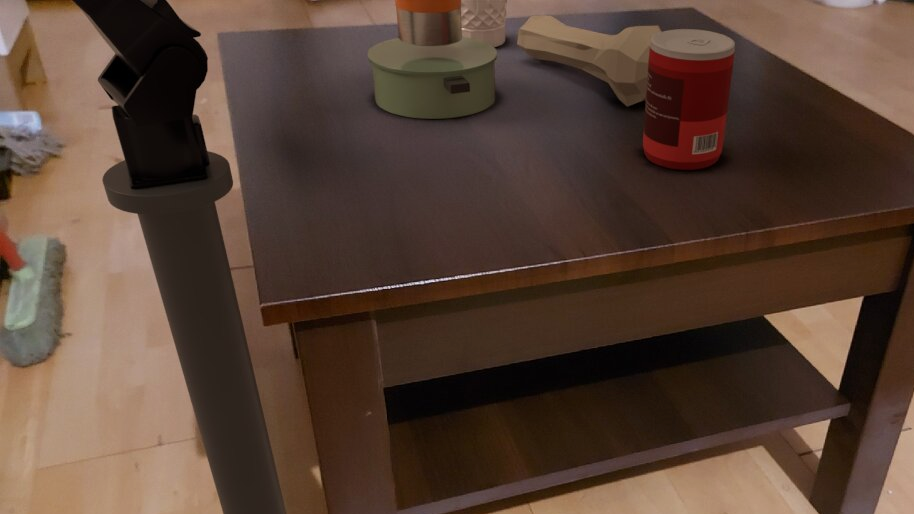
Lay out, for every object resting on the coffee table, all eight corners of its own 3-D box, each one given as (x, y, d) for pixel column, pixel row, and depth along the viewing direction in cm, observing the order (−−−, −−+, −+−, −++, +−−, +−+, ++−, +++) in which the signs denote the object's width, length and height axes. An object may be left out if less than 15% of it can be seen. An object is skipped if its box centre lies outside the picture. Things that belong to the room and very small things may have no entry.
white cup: (437, 45, 112) (431, -38, 106) (467, 30, 118) (463, -49, 113) (491, 53, 110) (489, -31, 104) (519, 38, 116) (518, -42, 110)
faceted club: (628, 111, 91) (490, 63, 107) (681, 117, 97) (543, 71, 113) (647, 24, 88) (502, -12, 104) (701, 35, 94) (556, -1, 110)
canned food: (728, 147, 87) (743, 34, 81) (710, 177, 80) (725, 57, 74) (655, 135, 89) (664, 24, 83) (631, 163, 82) (639, 45, 76)
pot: (397, 133, 86) (392, 83, 84) (354, 81, 99) (349, 36, 96) (523, 116, 92) (523, 69, 89) (468, 68, 104) (466, 26, 102)
